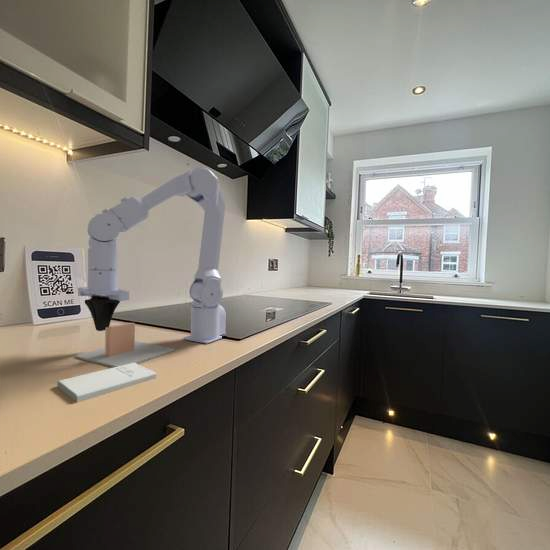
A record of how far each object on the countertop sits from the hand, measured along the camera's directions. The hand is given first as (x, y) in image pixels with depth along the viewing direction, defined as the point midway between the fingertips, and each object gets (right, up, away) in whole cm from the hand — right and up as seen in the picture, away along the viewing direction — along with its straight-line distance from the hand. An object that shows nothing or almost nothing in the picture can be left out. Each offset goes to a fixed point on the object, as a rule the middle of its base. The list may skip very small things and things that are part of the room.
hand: (102, 330), depth 67 cm
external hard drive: (+11, -6, -17) cm, 21 cm away
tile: (+5, -5, -2) cm, 7 cm away
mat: (+7, -5, -2) cm, 8 cm away
